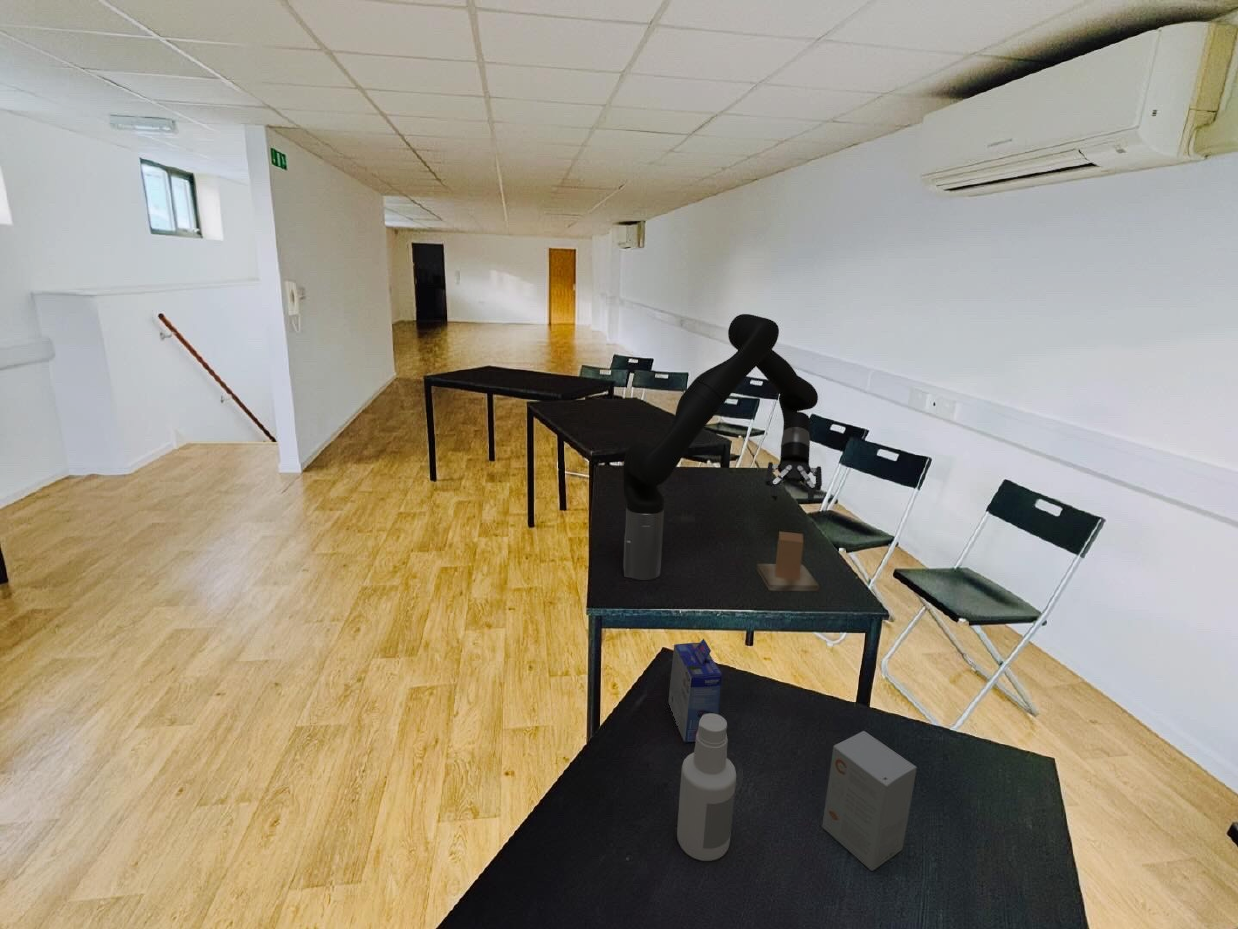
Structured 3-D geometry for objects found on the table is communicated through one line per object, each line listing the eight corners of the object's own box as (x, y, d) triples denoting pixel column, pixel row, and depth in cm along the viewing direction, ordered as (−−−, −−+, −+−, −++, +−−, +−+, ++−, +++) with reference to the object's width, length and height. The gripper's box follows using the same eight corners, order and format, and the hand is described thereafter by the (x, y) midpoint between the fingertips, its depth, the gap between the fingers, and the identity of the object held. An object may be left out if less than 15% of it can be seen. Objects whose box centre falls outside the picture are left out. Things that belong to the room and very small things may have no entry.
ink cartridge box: (718, 741, 100) (725, 661, 97) (684, 745, 99) (690, 664, 95) (697, 702, 110) (703, 628, 106) (667, 705, 109) (672, 630, 105)
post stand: (769, 590, 152) (772, 559, 150) (756, 569, 164) (759, 540, 161) (818, 591, 153) (822, 560, 150) (802, 569, 164) (805, 540, 162)
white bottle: (729, 867, 79) (741, 745, 74) (674, 857, 80) (683, 736, 75) (729, 823, 85) (741, 708, 80) (679, 815, 86) (687, 701, 81)
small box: (903, 851, 82) (919, 767, 78) (871, 873, 78) (887, 786, 75) (851, 808, 88) (863, 729, 85) (820, 827, 85) (832, 745, 82)
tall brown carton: (775, 577, 156) (779, 539, 153) (775, 568, 161) (779, 531, 158) (798, 580, 154) (803, 542, 152) (797, 570, 160) (802, 534, 157)
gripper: (769, 438, 170) (765, 491, 162) (824, 442, 167) (822, 497, 160) (767, 452, 177) (763, 504, 169) (820, 457, 174) (818, 510, 166)
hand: (792, 500), depth 164 cm, fingers open, 8 cm apart
